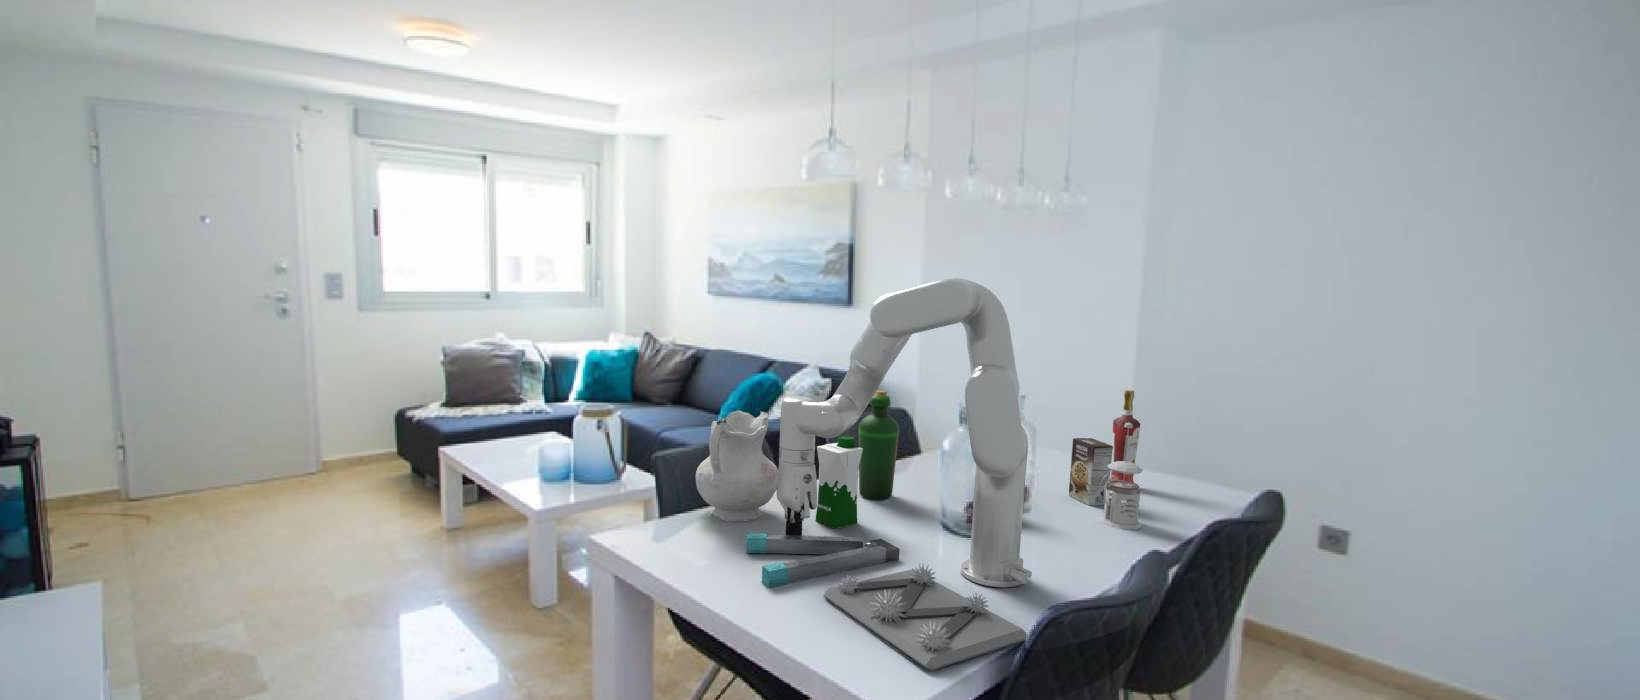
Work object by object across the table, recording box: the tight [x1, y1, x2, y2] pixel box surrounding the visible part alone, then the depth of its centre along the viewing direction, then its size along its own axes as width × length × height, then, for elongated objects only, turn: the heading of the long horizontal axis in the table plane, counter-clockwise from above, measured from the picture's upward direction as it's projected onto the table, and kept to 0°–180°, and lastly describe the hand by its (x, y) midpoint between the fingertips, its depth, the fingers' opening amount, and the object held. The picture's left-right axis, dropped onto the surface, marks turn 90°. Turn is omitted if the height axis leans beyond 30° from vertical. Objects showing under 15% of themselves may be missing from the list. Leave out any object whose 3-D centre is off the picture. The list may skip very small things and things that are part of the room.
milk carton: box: [815, 435, 863, 530], centre depth 177 cm, size 9×9×20 cm
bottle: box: [858, 389, 900, 501], centre depth 199 cm, size 11×11×28 cm
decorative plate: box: [823, 562, 1028, 672], centre depth 130 cm, size 30×22×7 cm
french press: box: [1099, 423, 1144, 530], centre depth 185 cm, size 10×12×25 cm
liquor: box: [1110, 389, 1141, 483], centre depth 219 cm, size 7×7×28 cm
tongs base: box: [761, 538, 900, 589], centre depth 151 cm, size 30×7×3 cm, turn 122°
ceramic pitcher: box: [695, 410, 778, 523], centre depth 179 cm, size 22×20×25 cm
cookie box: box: [1068, 437, 1113, 506], centre depth 204 cm, size 9×6×16 cm
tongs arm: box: [745, 532, 877, 555], centre depth 157 cm, size 27×5×3 cm, turn 92°
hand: (793, 538), depth 163 cm, fingers closed
